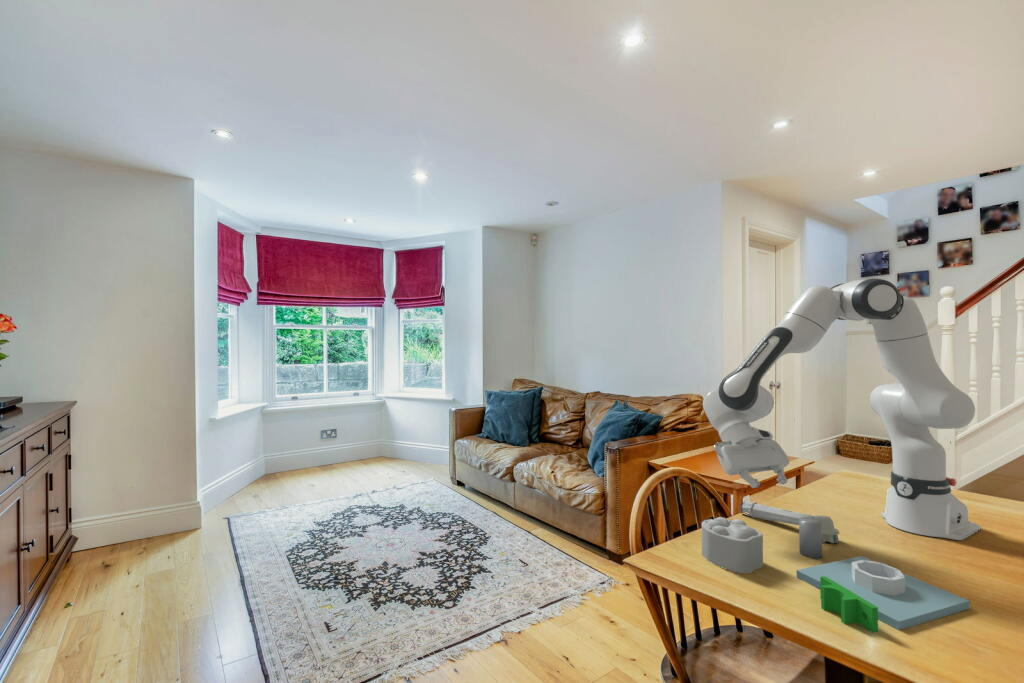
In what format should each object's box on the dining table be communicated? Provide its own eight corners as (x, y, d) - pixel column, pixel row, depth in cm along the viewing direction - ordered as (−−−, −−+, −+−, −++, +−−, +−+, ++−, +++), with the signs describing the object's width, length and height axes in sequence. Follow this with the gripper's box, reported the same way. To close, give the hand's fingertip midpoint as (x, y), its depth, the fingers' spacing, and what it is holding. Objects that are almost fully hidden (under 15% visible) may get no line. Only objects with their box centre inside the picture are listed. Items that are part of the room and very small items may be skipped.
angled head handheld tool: (748, 499, 141) (840, 513, 120) (751, 522, 140) (844, 540, 119) (737, 502, 138) (829, 517, 117) (740, 526, 137) (834, 545, 116)
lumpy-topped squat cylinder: (742, 576, 102) (741, 536, 102) (690, 554, 113) (690, 518, 113) (768, 564, 107) (768, 526, 107) (717, 544, 118) (717, 509, 118)
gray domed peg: (808, 549, 115) (808, 516, 115) (826, 557, 111) (826, 523, 111) (794, 551, 114) (794, 518, 114) (812, 560, 109) (812, 525, 109)
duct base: (861, 562, 108) (860, 542, 108) (969, 608, 89) (969, 584, 89) (796, 577, 101) (796, 556, 101) (899, 630, 83) (898, 604, 83)
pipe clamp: (808, 601, 92) (808, 577, 93) (825, 599, 93) (825, 576, 93) (859, 635, 81) (859, 608, 82) (878, 633, 82) (877, 606, 82)
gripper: (717, 436, 127) (746, 482, 117) (774, 431, 133) (806, 475, 124) (705, 449, 131) (732, 495, 122) (761, 444, 138) (791, 487, 128)
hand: (770, 485), depth 123 cm, fingers open, 8 cm apart
